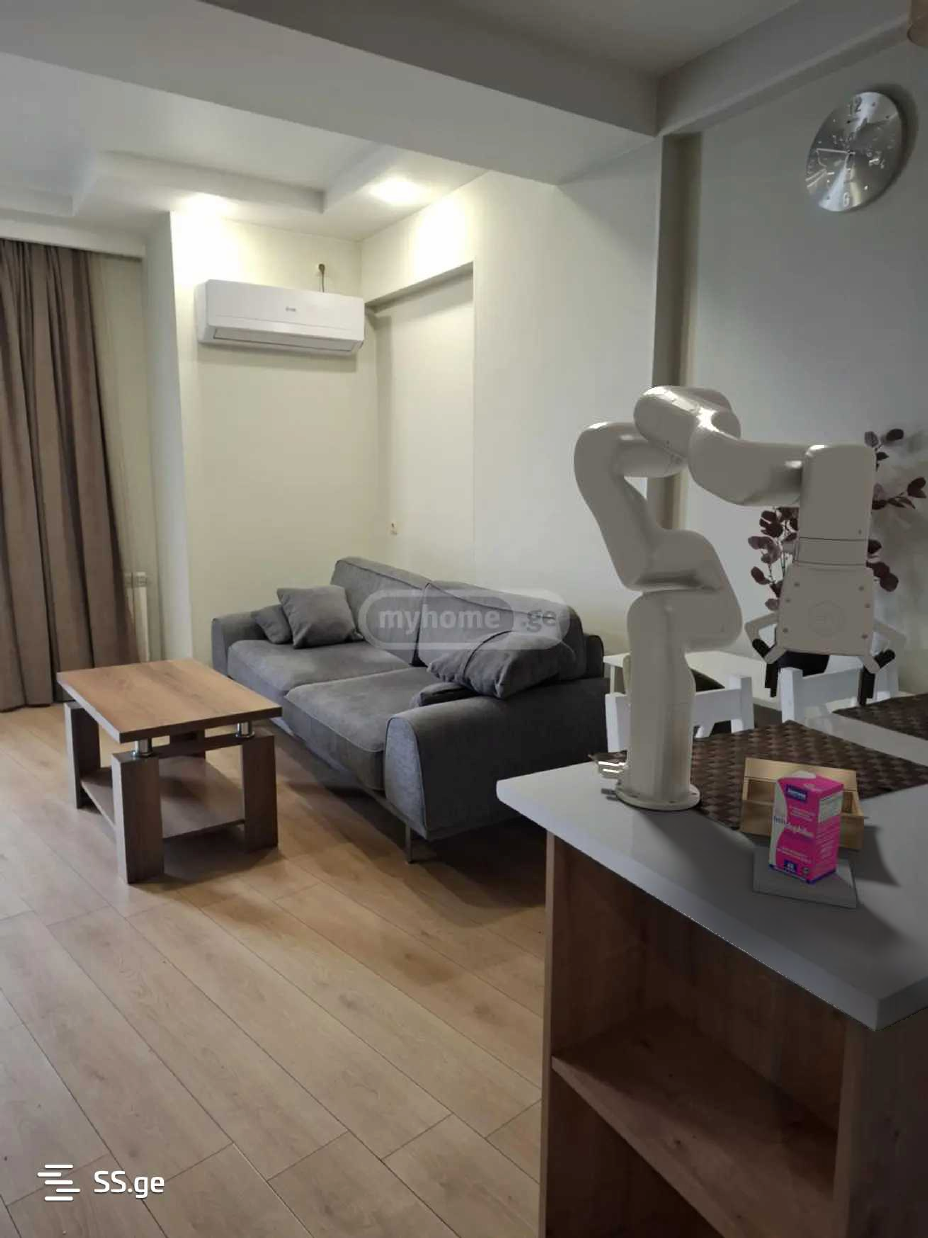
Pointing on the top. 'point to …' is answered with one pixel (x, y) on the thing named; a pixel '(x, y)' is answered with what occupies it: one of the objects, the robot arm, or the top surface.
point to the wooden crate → (762, 795)
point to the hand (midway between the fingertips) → (816, 699)
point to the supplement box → (806, 826)
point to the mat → (824, 890)
